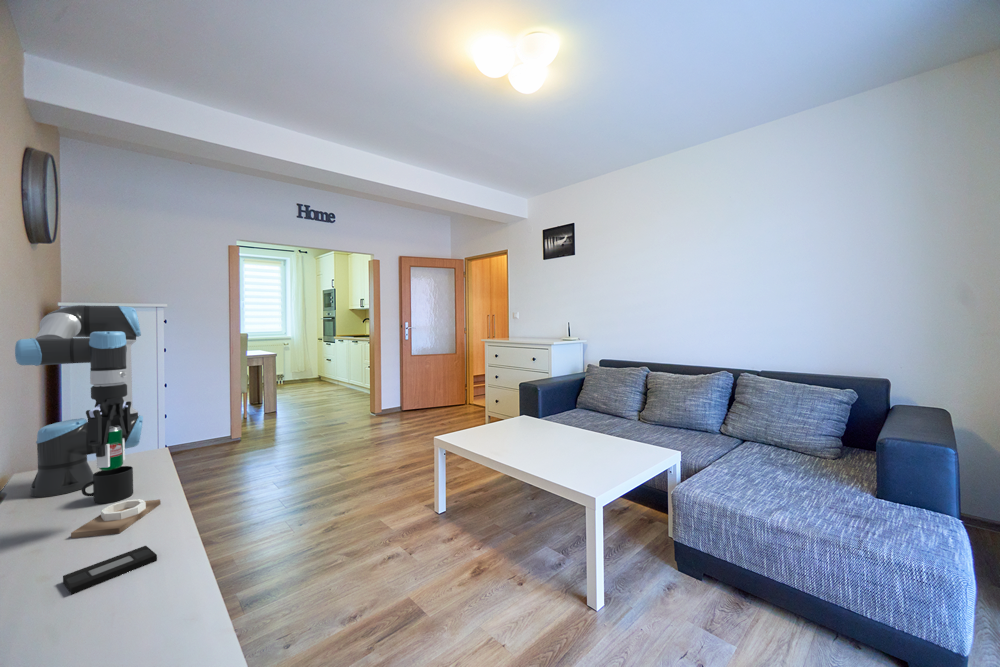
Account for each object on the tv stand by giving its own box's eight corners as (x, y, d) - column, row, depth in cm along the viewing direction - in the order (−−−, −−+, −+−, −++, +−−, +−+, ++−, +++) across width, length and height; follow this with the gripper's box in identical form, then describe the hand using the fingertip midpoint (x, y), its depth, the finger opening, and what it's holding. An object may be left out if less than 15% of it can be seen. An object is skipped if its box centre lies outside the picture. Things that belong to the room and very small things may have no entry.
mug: (81, 501, 128) (80, 473, 128) (131, 489, 137) (130, 463, 137) (82, 510, 122) (82, 481, 122) (135, 497, 131) (134, 470, 131)
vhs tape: (62, 584, 88) (62, 575, 88) (146, 553, 100) (145, 545, 100) (71, 597, 84) (71, 588, 84) (157, 562, 96) (156, 554, 96)
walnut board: (119, 507, 123) (119, 503, 123) (160, 504, 126) (160, 499, 126) (71, 538, 106) (71, 532, 106) (119, 533, 108) (119, 528, 108)
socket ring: (117, 507, 120) (116, 501, 120) (151, 504, 122) (151, 498, 122) (93, 522, 111) (93, 515, 111) (131, 518, 113) (131, 511, 113)
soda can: (101, 472, 111) (100, 430, 111) (96, 468, 114) (95, 427, 114) (125, 467, 115) (124, 426, 115) (120, 463, 118) (119, 424, 118)
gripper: (99, 388, 106) (101, 474, 106) (145, 379, 124) (147, 453, 124) (66, 389, 105) (68, 476, 105) (117, 380, 122) (119, 454, 123)
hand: (111, 463), depth 115 cm, fingers closed on soda can, 5 cm apart
